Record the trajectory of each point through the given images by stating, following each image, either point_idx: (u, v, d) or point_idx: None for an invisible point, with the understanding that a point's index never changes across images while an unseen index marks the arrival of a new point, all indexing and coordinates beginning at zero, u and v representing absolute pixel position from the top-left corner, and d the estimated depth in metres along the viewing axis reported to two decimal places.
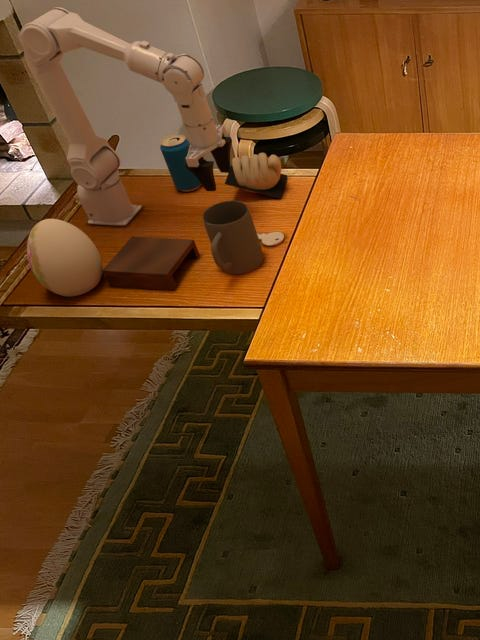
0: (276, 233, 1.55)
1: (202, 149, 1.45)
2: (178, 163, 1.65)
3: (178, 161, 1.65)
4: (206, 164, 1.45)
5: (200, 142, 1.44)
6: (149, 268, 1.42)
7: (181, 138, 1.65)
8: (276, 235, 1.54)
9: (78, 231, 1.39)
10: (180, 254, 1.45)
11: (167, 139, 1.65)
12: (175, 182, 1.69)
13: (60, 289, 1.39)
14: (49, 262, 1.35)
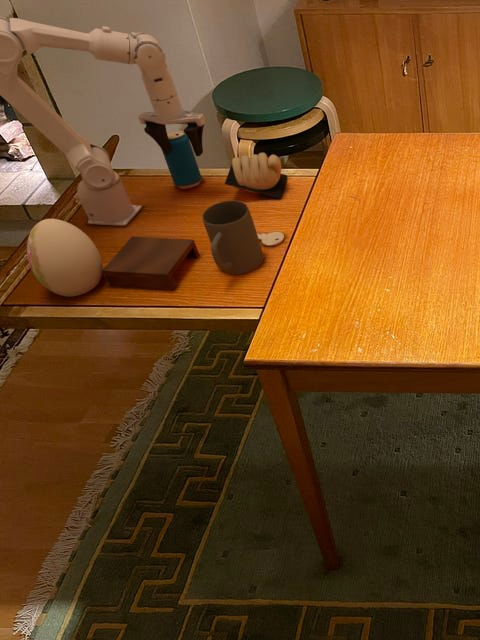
0: (276, 233, 1.55)
1: (184, 115, 1.56)
2: (177, 157, 1.65)
3: (177, 155, 1.65)
4: None
5: (181, 109, 1.55)
6: (149, 268, 1.42)
7: (180, 133, 1.66)
8: (276, 235, 1.54)
9: (78, 231, 1.39)
10: (180, 254, 1.45)
11: None
12: (174, 178, 1.69)
13: (60, 289, 1.39)
14: (49, 262, 1.35)
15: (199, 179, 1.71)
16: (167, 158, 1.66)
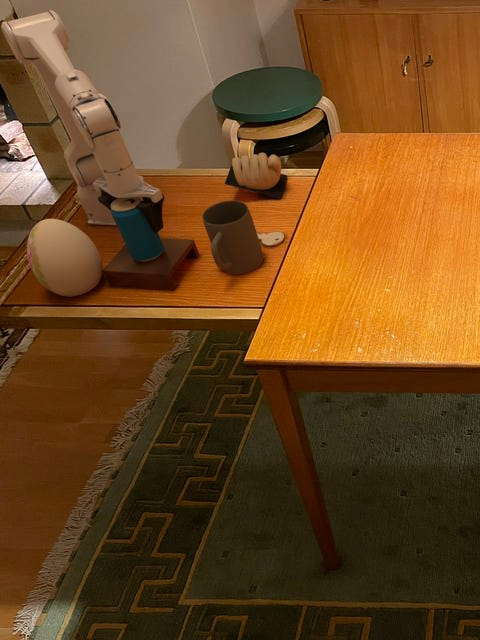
0: (276, 233, 1.55)
1: (141, 187, 1.36)
2: (129, 231, 1.38)
3: (129, 228, 1.37)
4: None
5: (137, 181, 1.35)
6: (149, 268, 1.42)
7: (136, 201, 1.38)
8: (276, 235, 1.54)
9: (78, 231, 1.39)
10: (180, 254, 1.45)
11: (121, 200, 1.38)
12: (128, 250, 1.42)
13: (60, 289, 1.39)
14: (49, 262, 1.35)
15: (158, 252, 1.43)
16: (119, 229, 1.38)
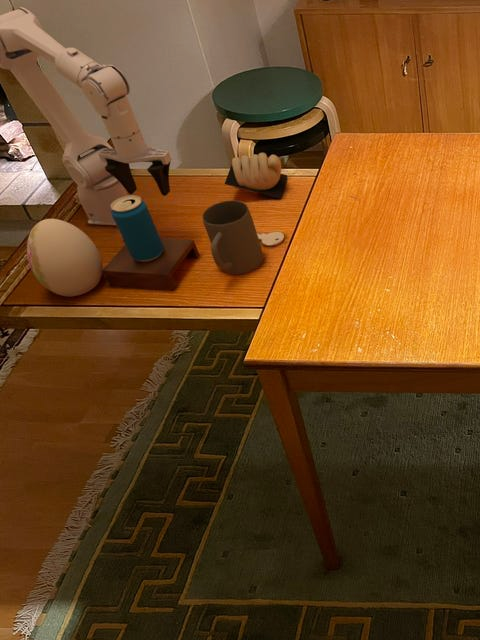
0: (276, 233, 1.55)
1: (148, 152, 1.44)
2: (129, 231, 1.38)
3: (129, 229, 1.37)
4: None
5: (145, 146, 1.43)
6: (149, 268, 1.42)
7: (137, 201, 1.38)
8: (276, 235, 1.54)
9: (78, 231, 1.39)
10: (180, 254, 1.45)
11: (121, 200, 1.38)
12: (128, 250, 1.42)
13: (60, 289, 1.39)
14: (49, 262, 1.35)
15: (159, 252, 1.43)
16: (119, 229, 1.38)
